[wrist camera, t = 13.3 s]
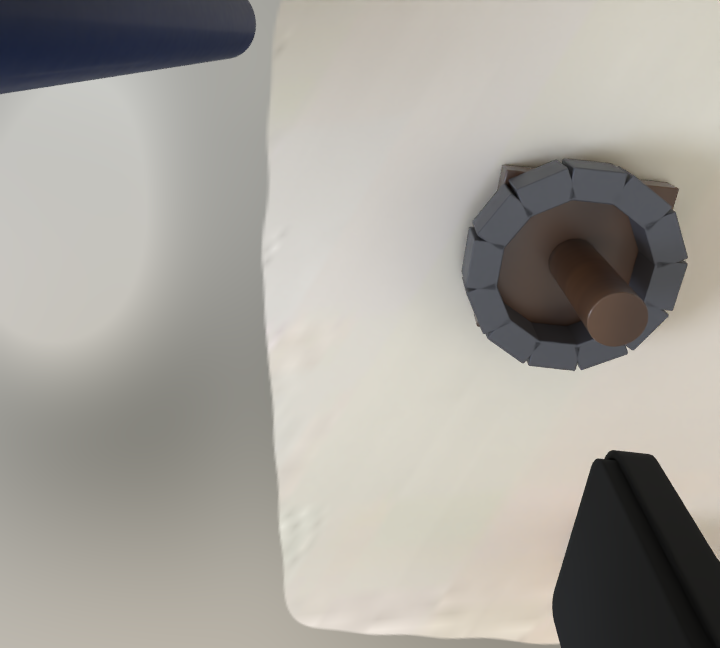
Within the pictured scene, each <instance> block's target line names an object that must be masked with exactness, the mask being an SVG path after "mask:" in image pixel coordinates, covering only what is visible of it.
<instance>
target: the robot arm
mask: <svg viewBox="0 0 720 648" xmlns="http://www.w3.org/2000/svg"><path fill="white" fill-rule="evenodd" d="M552 610H553V618H554V623H555V627H556V630H557V634H558V638H559V641H560V645H561V648H720V562H719V560H718V559H717V558H716V556H715V555H714V553H713V551H712V550H711V548H710V546H709V545H708V543H707V541H706V540H705V538H704V537H703V535H702V533H701V532H700V530H699V528H698V527H697V525H696V523H695V522H694V520H693V518H692V517H691V515H690V514H689V512H688V510H687V509H686V507H685V505H684V504H683V502H682V500H681V499H680V497H679V496H678V494H677V492H676V491H675V489H674V487H673V486H672V484H671V482H670V481H669V479H668V478H667V476H666V474H665V473H664V471H663V469H662V468H661V466H660V464H659V463H658V461H657V460H656V458H655V457H654V456H653V455H650V454H643V453H634V452H625V451H616V450H612V451H609V452H608V454H607V455H606V457H605V459H596V460H595V461H594V462H593V464H592V466H591V469H590V473H589V476H588V479H587V483H586V486H585V490H584V493H583V496H582V500H581V503H580V506H579V510H578V513H577V516H576V520H575V523H574V526H573V530H572V533H571V536H570V540H569V543H568V547H567V550H566V553H565V557H564V560H563V563H562V567H561V570H560V573H559V577H558V580H557V583H556V587H555V590H554V594H553V602H552Z"/></svg>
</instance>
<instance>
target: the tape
mask: <svg viewBox="0 0 720 648" xmlns="http://www.w3.org/2000/svg"><path fill="white" fill-rule="evenodd" d="M509 183H510V186H511V188H510V187H508V186H507V185H506V184H503V185H502V186H501V187H500V188H499V189H498V191H497V192H496V193H495V194H494V196H493V197H492V198H491V199H490V200H489V202H488V203H487V204H486V205H485V207H484V208H483V209H482V210H481V211H480V213H479V214H478V215H477V216H476V217H475V219H474V220H473V222H472V223H473V225H474V227H469V232H468V238H467V243H466V249H465V255H464V261H463V266H462V274H463V277H462V278H463V282H464V286H465V290H466V294H467V296H468V298H469V301H470V303H471V306H472V308H473V311H474V313H475V315H476V318H477V320H478V323H479V325H480V328H481V330H482V332H483V334H485V333H486V336H487V339H489V340H490V341H492V342H493V343H494V344H496V345H497V346H499V347H500V348H501V349H503V350H504V351H506V352H507V353H509V354H510V355H511V356H513V357H514V358H516V359H517V360H518V361H520V362H521V363H524V362H525V361H526V360H527V363H528V365H529V366H536V367H545V368H554V369H563V370H572V371H575V370H576V366H577V364H578V366H579V368H580V369H581V370H583V369H586V368H589V367H592V366H595V365H598V364H601V363H604V362H606V361H609V360H612V359H615V358H618V357H621V356H624V355H627V354H628V352H627V349H626V346H627V347H628V348H630V349H631V350H634V349H636V348H637V347H638V346H639V345H640V344H641V343H642V342H643V341H644V340H645V339H646V338H647V337H648V336H649V335H650V334H651V333H652V332H653V331H654V330H655V329H656V328H657V327H658V326H659V325H660V324H661V323H662V322H663V321H664V320H665V319H666V318H667V317H668V316H669V315H668V314H667V312H666V311H665V310H670V311H672V310H673V308H674V305H675V302H676V299H677V296H678V292H679V289H680V286H681V283H682V280H683V277H684V274H685V271H686V268H687V263H686V262H685V261H683V260H684V259H687V258H688V256H687V253H686V249H685V245H684V241H683V238H682V234H681V230H680V227H679V223H678V219H677V215H676V212H675V211H673V210H672V209H671V208H672V206H671V205H670V204H668V203H667V202H666V201H665V200H664V199H662V198H661V197H660V196H659V195H657V194H656V193H655V192H654V191H653V190H651V189H650V188H649V187H648V186H646V185H645V184H644V183H643V182H642V181H640V180H639V179H638V178H637V177H635V176H634V175H632V174H631V173H629V172H628V171H626V170H624V169H623V168H621V167H619V166H618V167H616V166H615V165H613V164H611V163H602V162H592V161H583V160H574V159H565V158H564V159H563V160H562V163H560V162H559V161H558V160H553V161H551V162H549V163H546V164H544V165H542V166H539V167H537V168H534V169H532V170H530V171H527V172H525V173H523V174H520V175H518V176H515V177H513V178H511V179H509ZM572 200H574V201H583V202H592V203H601V204H610V205H614V206H616V207H617V208H618V209H619V210H621V211H622V212H623V213H624V214H626V215H627V216H628V217H629V220H630V224H631V227H632V230H633V234H634V237H635V240H636V244H637V247H638V250H639V251H638V254H637V258H636V261H635V265H634V268H633V272H632V275H631V279H630V282H629V286H630V287H631V288H632V289H633V290H634V291H635V293H636V294H637V295H638V296H639V297H640V298H641V299H642V300H643V301H644V303H645V304H646V306H647V309H648V322H647V325H646V328H645V330H644V331H643V332H642V334H641V335H640V336H639V337H638V338H637V339H635V340H634V341H632V342H630V343H628V344H626V346H625V345H623V346H616V347H612V346H605V345H602V344H600V343H598V342H597V341H595V340H594V339H593V338H592V337H591V335H590V333H589V332H588V330H587V329H586V327H585V326H584V324H583V322H582V321H580V322H577V323H574V324H571V325H569V326H559V325H550V324H541V323H532V322H530V321H529V320H527V319H526V318H524V317H523V316H522V315H520V314H519V313H517V312H516V311H515V310H513V309H512V308H511V307H509V306H508V305H506V304H505V303H504V302H503V300H502V297H501V295H500V292H499V289H498V287H497V284H498V279H499V274H500V269H501V264H502V259H503V254H504V249H505V247H506V246H507V245H508V244H509V242H510V241H511V240H512V239H513V238H514V237H515V235H516V234H517V233H518V232H519V231H520V230H521V228H522V227H523V226H524V225H525V224H526V223H527V221H528V220H529V219H530V218H531V217H532V216H535V215H537V214H540V213H542V212H545V211H547V210H550V209H552V208H554V207H557V206H559V205H562V204H564V203H567V202H569V201H572Z"/></svg>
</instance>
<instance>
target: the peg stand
mask: <svg viewBox="0 0 720 648" xmlns="http://www.w3.org/2000/svg"><path fill="white" fill-rule="evenodd" d="M532 169H534V168H529V167H519V166H510V165H503V166H502V170H501V175H500V180H499V186H498V189H499V188H500V187H501V186H502V185H503V184H506V185H507V186H508V187H510V188H511V186H510V183H509V179H511V178H513V177H515V176H518V175H520V174H523V173H525V172H527V171H530V170H532ZM640 181H642V182H643V183H644V184H645V185H646V186H648V187H649V188H650V189H651V190H653V191H654V192H655V193H656V194H657V195H659V196H660V197H661V198H662V199H664V200H665V201H666V202H667V203H668V204H670V205H671V206H672V208H671V209H672V210H673V207H674V204H675V200H676V197H677V194H678V190H679V189H678V188H677V187H675V186H673V185H671V184H669V183H667V182H657V181H648V180H640ZM638 251H639V250H638V247H637V244H636V240H635V237H634V234H633V230H632V227H631V224H630V220H629V217H628V216H627V215H626V214H624V213H623V212H622V211H621V210H619V209H618V208H617V207H616V206H614V205H610V204H601V203H592V202H583V201H574V200H572V201H569V202H567V203H564V204H562V205H559V206H557V207H554V208H552V209H550V210H547V211H545V212H542V213H540V214H537V215H535V216H532V217H531V218H530V219H529V220H528V221H527V223H526V224H525V225H524V226H523V227H522V228H521V230H520V231H519V232H518V233H517V234H516V235H515V237H514V238H513V239H512V240H511V241H510V242H509V244H508V245H507V246H506V247H505V249H504V254H503V259H502V264H501V269H500V274H499V279H498V284H497V287H498V289H499V292H500V295H501V297H502V300H503V302H504V303H505V304H506V305H508V306H509V307H511V308H512V309H513V310H515V311H516V312H517V313H519V314H520V315H522V316H523V317H524V318H526V319H527V320H529V321H530V322H532V323H541V324H550V325H559V326H569V325H571V324H574V323H577V322H580V321H582V322H583V324H584V326H585V327H586V329H587V330H588V332H589V333H590V335H591V337H592V338H593V339H594V340H595V341H597V342H598V343H600V344H602V345H605V346H612V347H616V346H623V345H626V344H628V343H630V342H632V341H634V340H635V339H637V338H638V337H639V336H640V335H641V334H642V332H643V331H644V330H645V328H646V325H647V322H648V309H647V306H646V304H645V303H644V301H643V300H642V299H641V298H640V297H639V296H638V295H637V294H636V293H635V291H634V290H633V289H632V288H631V287H630V286H629V282H630V279H631V275H632V272H633V268H634V265H635V261H636V258H637V254H638ZM474 316H475V320H476V324H477V326H478V327H480V325H479V323H478V320H477V318H476V315H474Z"/></svg>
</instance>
